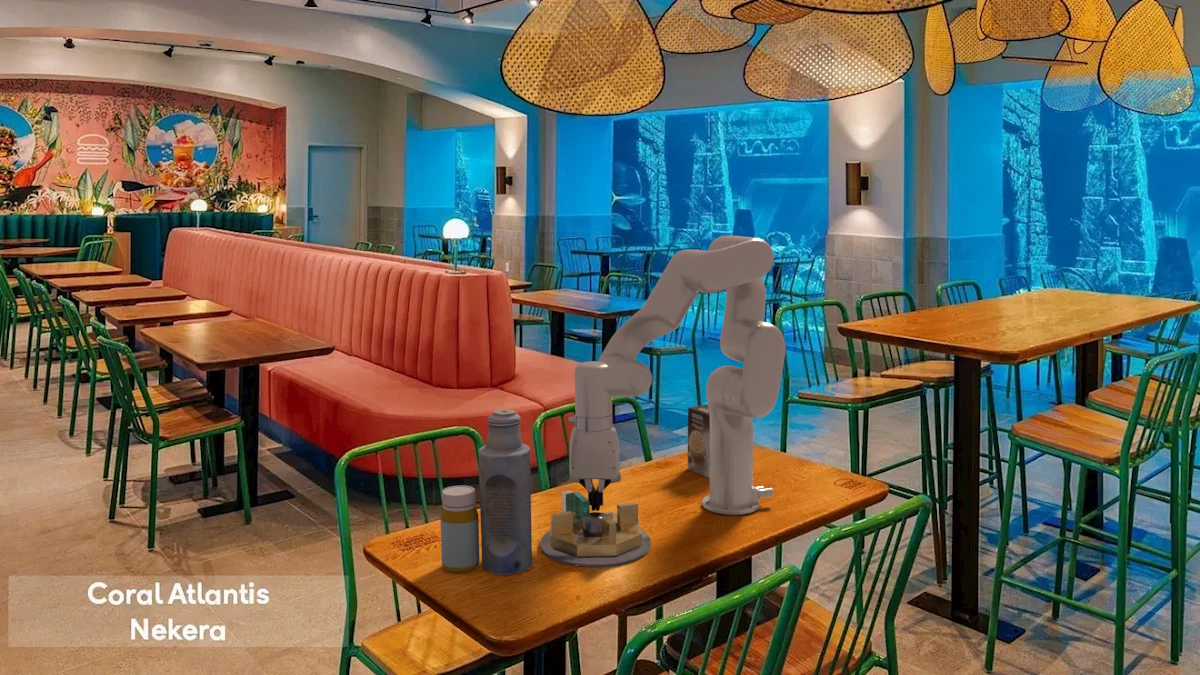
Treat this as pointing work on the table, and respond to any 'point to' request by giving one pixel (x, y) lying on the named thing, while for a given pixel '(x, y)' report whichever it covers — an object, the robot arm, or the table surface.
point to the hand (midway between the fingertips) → (595, 508)
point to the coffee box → (699, 440)
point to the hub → (591, 530)
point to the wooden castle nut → (616, 528)
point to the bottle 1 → (459, 529)
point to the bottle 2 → (505, 496)
